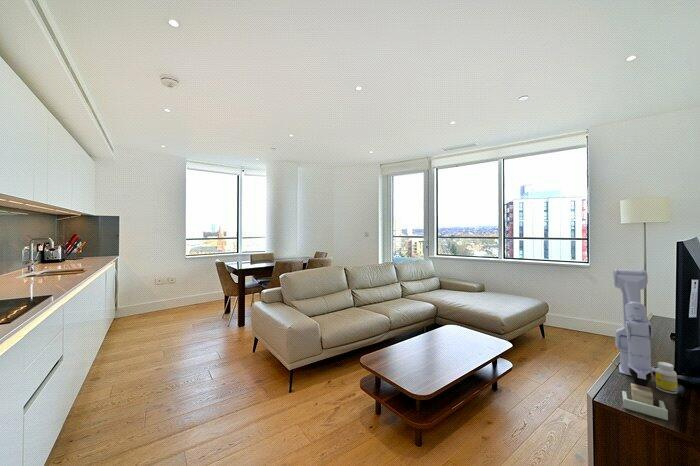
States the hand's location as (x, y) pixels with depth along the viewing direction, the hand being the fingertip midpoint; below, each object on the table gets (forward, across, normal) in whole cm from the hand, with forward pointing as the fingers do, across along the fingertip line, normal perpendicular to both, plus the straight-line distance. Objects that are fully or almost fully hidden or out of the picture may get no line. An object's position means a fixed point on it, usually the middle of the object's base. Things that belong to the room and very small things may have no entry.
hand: (640, 391), depth 102 cm
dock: (+1, -10, 0) cm, 10 cm away
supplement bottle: (+2, +11, -8) cm, 13 cm away
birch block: (+1, -4, 0) cm, 4 cm away
